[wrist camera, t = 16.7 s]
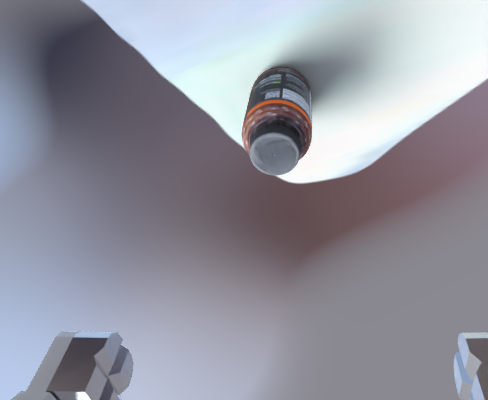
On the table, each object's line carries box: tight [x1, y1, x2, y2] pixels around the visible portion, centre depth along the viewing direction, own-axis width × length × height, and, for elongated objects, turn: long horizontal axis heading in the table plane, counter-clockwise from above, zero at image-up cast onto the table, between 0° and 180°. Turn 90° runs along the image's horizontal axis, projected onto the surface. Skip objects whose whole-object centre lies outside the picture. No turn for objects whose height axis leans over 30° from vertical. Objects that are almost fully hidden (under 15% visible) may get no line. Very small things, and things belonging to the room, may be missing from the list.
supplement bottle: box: [242, 67, 312, 175], centre depth 39 cm, size 6×6×11 cm
